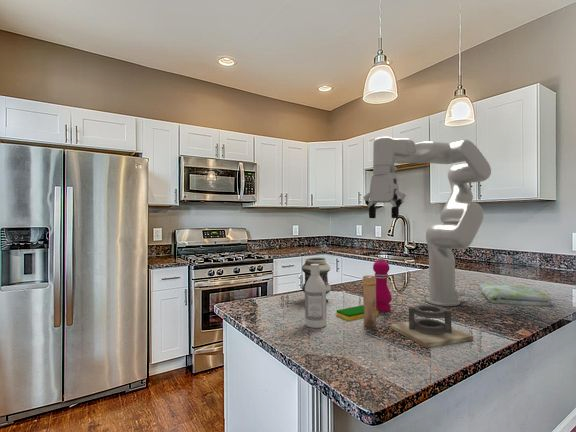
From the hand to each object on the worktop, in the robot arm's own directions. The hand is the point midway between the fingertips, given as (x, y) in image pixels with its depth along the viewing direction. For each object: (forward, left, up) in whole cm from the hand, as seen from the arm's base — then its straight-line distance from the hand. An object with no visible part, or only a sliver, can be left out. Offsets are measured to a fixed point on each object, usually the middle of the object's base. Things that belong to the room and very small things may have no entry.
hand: (383, 218), depth 119 cm
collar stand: (0, +23, -35) cm, 42 cm away
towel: (-59, +2, -35) cm, 69 cm away
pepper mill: (-1, -4, -35) cm, 35 cm away
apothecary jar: (+18, -23, -35) cm, 45 cm away
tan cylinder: (+13, +11, -35) cm, 39 cm away
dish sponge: (+11, -1, -35) cm, 37 cm away
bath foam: (+29, +4, -35) cm, 45 cm away
